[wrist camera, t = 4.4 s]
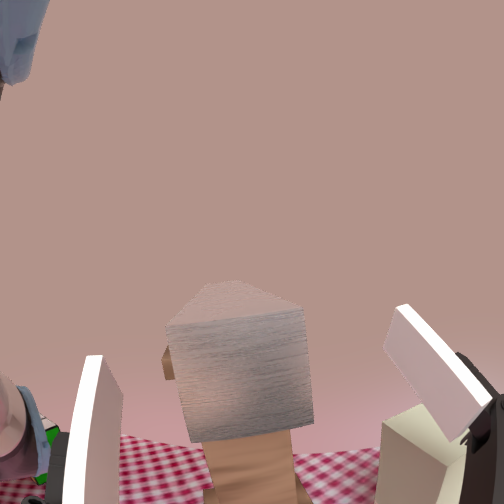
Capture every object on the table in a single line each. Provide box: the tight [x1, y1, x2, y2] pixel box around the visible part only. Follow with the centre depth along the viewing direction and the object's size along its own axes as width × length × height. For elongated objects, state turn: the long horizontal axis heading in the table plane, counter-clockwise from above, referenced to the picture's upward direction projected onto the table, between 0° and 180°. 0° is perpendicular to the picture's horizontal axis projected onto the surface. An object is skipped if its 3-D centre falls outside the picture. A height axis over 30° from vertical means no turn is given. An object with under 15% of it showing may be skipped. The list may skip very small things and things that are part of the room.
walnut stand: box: [161, 345, 313, 504], centre depth 26 cm, size 16×14×28 cm
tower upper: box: [375, 403, 470, 504], centre depth 15 cm, size 8×8×10 cm
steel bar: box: [165, 280, 314, 443], centre depth 22 cm, size 28×4×4 cm, turn 6°
